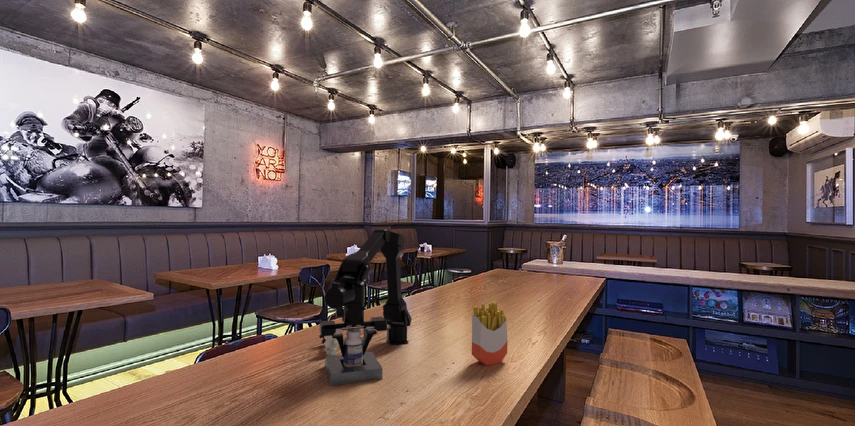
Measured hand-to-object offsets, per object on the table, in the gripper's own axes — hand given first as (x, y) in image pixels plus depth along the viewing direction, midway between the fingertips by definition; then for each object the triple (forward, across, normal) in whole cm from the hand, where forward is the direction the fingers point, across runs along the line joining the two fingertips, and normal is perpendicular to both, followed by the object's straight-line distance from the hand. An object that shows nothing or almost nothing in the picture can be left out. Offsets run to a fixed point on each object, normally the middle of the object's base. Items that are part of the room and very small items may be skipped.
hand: (353, 355), depth 111 cm
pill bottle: (+3, 0, 0) cm, 3 cm away
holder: (+5, 0, 0) cm, 5 cm away
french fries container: (+5, -42, +5) cm, 43 cm away
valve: (+5, +4, -21) cm, 22 cm away
